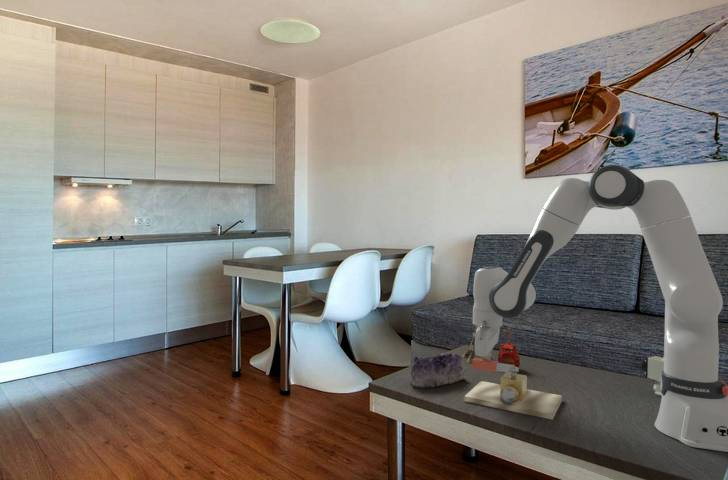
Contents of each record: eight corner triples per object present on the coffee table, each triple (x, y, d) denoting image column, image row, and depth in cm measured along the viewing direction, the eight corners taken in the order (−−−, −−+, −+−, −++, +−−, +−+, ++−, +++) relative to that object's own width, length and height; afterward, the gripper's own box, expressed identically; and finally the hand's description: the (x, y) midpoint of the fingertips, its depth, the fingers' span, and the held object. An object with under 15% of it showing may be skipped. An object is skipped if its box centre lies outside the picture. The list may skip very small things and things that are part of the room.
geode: (428, 394, 140) (425, 361, 141) (403, 388, 150) (399, 357, 150) (472, 379, 153) (468, 348, 153) (446, 374, 162) (442, 345, 163)
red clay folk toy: (497, 370, 164) (497, 328, 164) (497, 365, 171) (498, 324, 170) (519, 373, 162) (520, 330, 161) (519, 367, 168) (520, 326, 168)
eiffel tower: (495, 363, 173) (497, 296, 172) (467, 363, 173) (468, 296, 172) (487, 356, 183) (488, 293, 183) (461, 355, 183) (462, 292, 183)
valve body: (530, 391, 140) (530, 371, 140) (517, 408, 127) (518, 386, 126) (509, 387, 143) (510, 368, 143) (495, 404, 130) (495, 382, 130)
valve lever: (519, 375, 135) (519, 364, 135) (517, 377, 133) (517, 366, 133) (474, 367, 142) (475, 357, 142) (472, 370, 140) (472, 359, 140)
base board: (561, 400, 136) (562, 395, 136) (552, 419, 122) (552, 413, 122) (481, 385, 148) (481, 381, 148) (464, 401, 134) (464, 396, 134)
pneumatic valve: (682, 403, 135) (683, 362, 134) (640, 391, 145) (641, 352, 144) (691, 399, 138) (692, 359, 137) (649, 388, 148) (650, 350, 147)
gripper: (491, 326, 132) (491, 374, 132) (503, 314, 150) (502, 356, 150) (469, 324, 134) (468, 371, 135) (483, 312, 153) (482, 354, 153)
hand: (486, 363), depth 143 cm, fingers closed
